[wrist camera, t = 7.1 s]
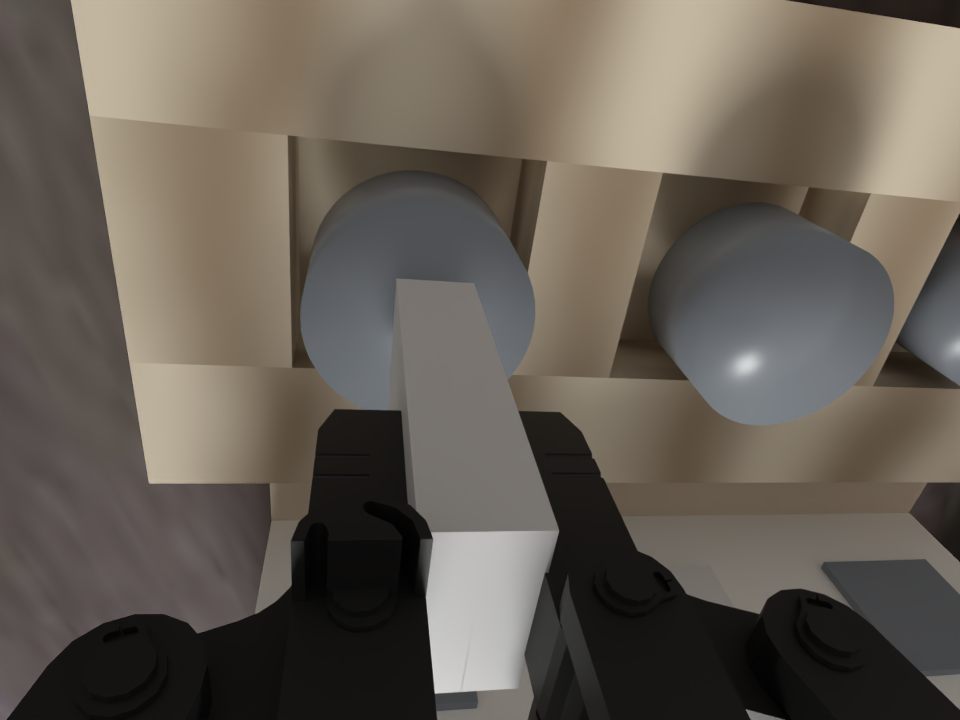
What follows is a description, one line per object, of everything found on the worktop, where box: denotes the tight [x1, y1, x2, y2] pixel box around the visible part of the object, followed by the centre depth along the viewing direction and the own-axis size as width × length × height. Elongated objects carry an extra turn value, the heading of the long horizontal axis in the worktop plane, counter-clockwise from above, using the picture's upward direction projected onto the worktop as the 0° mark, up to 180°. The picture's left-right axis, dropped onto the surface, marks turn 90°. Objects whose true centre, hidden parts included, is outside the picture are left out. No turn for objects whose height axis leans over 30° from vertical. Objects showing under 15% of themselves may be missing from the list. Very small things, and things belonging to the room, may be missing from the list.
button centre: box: [648, 202, 894, 426], centre depth 17 cm, size 5×5×3 cm
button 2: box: [300, 170, 536, 410], centre depth 15 cm, size 5×5×3 cm
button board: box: [71, 0, 960, 483], centre depth 19 cm, size 32×14×3 cm, turn 82°
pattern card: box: [255, 482, 960, 720], centre depth 22 cm, size 26×5×10 cm, turn 82°
